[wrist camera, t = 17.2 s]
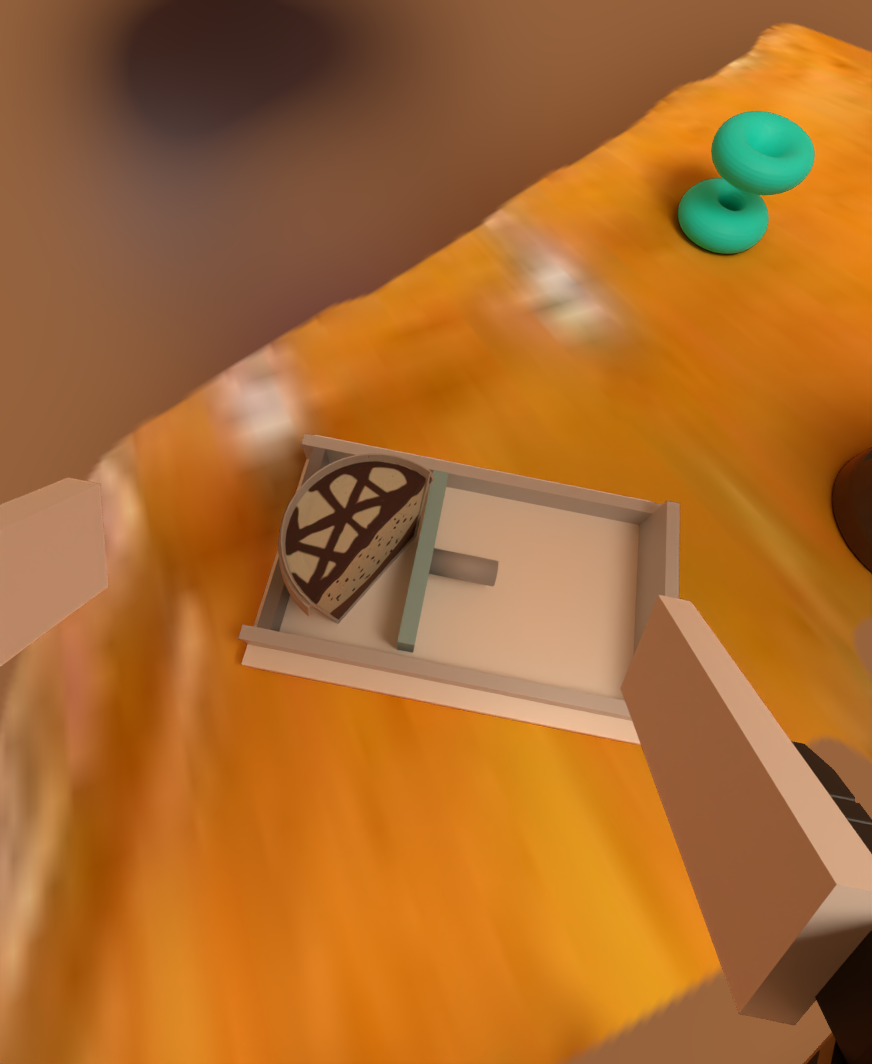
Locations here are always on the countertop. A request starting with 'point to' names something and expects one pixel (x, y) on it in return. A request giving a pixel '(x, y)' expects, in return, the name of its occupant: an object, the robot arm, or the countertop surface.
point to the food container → (349, 529)
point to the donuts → (745, 180)
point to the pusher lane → (494, 603)
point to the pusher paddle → (437, 564)
